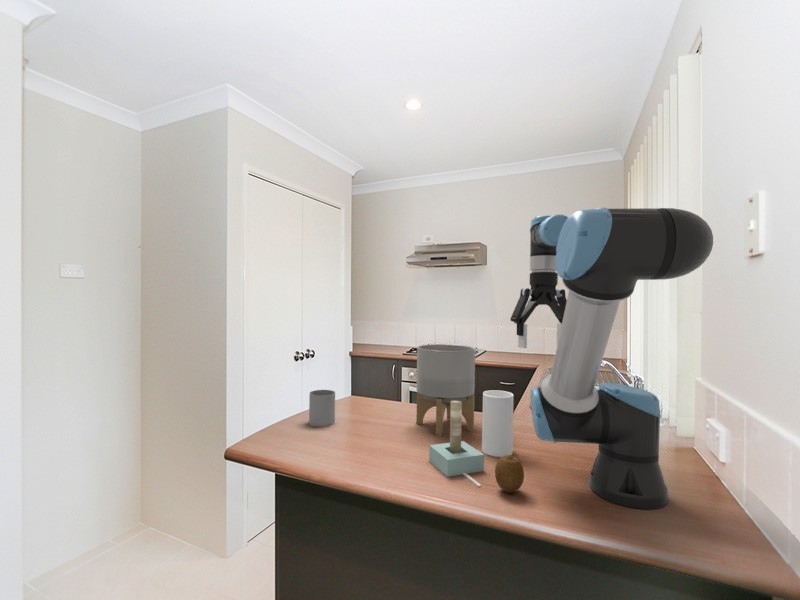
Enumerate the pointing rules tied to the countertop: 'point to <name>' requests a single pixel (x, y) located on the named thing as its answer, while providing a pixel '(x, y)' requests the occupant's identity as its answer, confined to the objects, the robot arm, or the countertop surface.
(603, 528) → the countertop surface
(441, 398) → the planter
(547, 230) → the robot arm
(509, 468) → the fruit
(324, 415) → the cup
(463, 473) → the cream stick
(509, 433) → the cup
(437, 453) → the bead
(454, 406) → the beige wooden dowel
